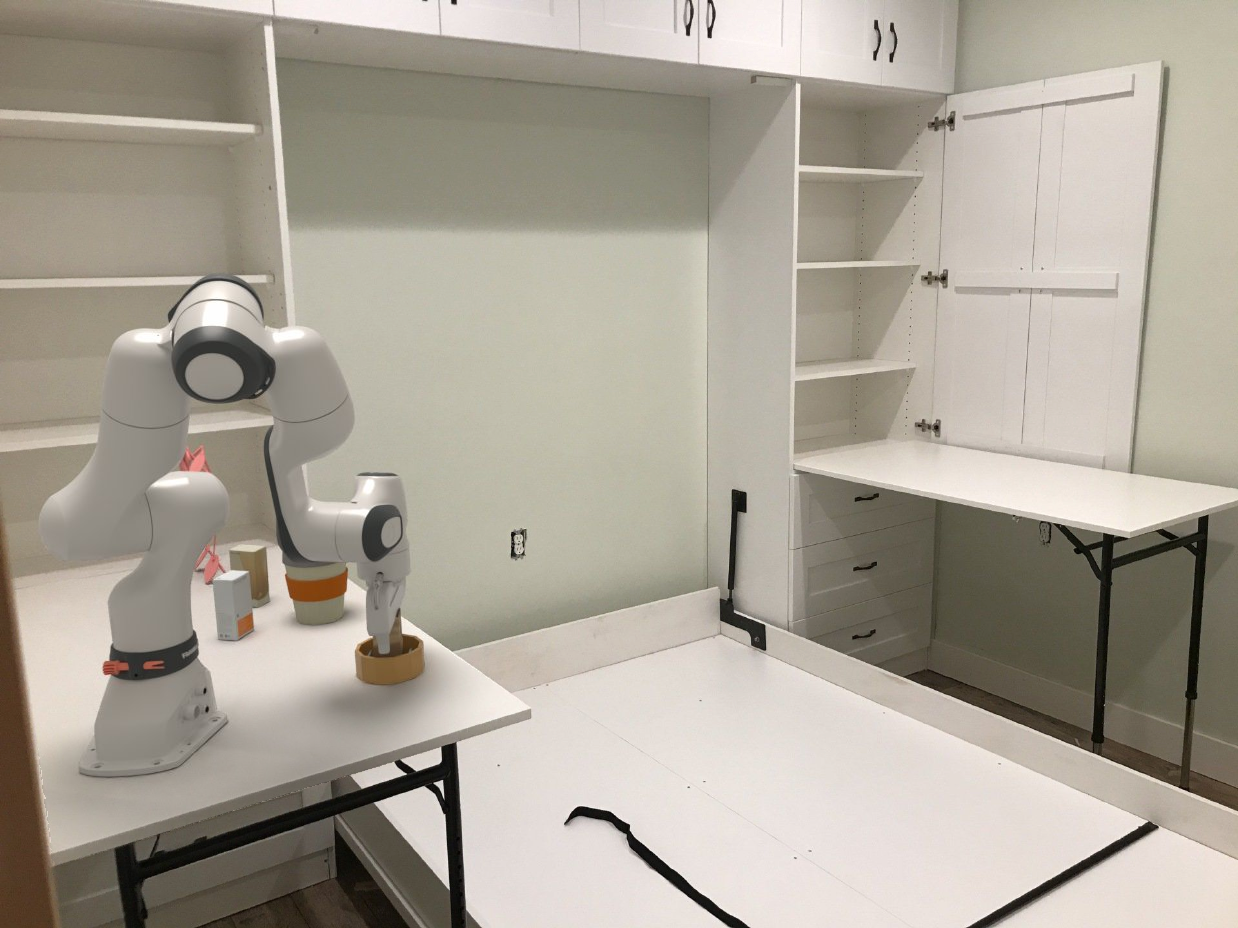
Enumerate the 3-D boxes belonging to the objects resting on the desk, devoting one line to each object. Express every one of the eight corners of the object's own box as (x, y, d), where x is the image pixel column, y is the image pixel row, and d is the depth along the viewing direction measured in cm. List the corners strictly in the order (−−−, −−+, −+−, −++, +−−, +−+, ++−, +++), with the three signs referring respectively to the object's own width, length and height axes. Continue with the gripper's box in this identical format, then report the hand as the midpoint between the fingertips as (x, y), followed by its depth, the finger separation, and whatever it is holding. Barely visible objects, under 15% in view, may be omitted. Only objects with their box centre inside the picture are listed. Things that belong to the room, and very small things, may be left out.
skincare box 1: (232, 605, 204) (226, 549, 201) (245, 598, 208) (239, 543, 206) (259, 607, 202) (254, 551, 200) (271, 600, 206) (266, 545, 204)
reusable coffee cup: (329, 601, 205) (324, 532, 202) (365, 614, 197) (359, 542, 194) (275, 618, 196) (268, 546, 193) (310, 632, 188) (303, 557, 185)
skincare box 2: (237, 641, 184) (231, 580, 182) (217, 639, 185) (211, 579, 183) (255, 629, 190) (250, 570, 188) (236, 628, 191) (230, 569, 189)
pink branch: (219, 558, 237) (201, 416, 229) (240, 587, 215) (221, 431, 208) (150, 571, 229) (128, 424, 222) (165, 602, 208) (141, 440, 200)
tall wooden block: (401, 669, 168) (398, 613, 166) (375, 670, 168) (371, 615, 166) (404, 662, 171) (400, 607, 169) (377, 663, 171) (373, 609, 169)
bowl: (420, 682, 165) (418, 657, 164) (352, 685, 164) (350, 660, 163) (427, 656, 176) (425, 632, 175) (363, 659, 175) (361, 635, 174)
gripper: (394, 583, 156) (399, 664, 159) (409, 547, 176) (414, 620, 179) (353, 584, 156) (359, 666, 158) (374, 548, 176) (379, 621, 178)
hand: (388, 641), depth 169 cm, fingers open, 8 cm apart
